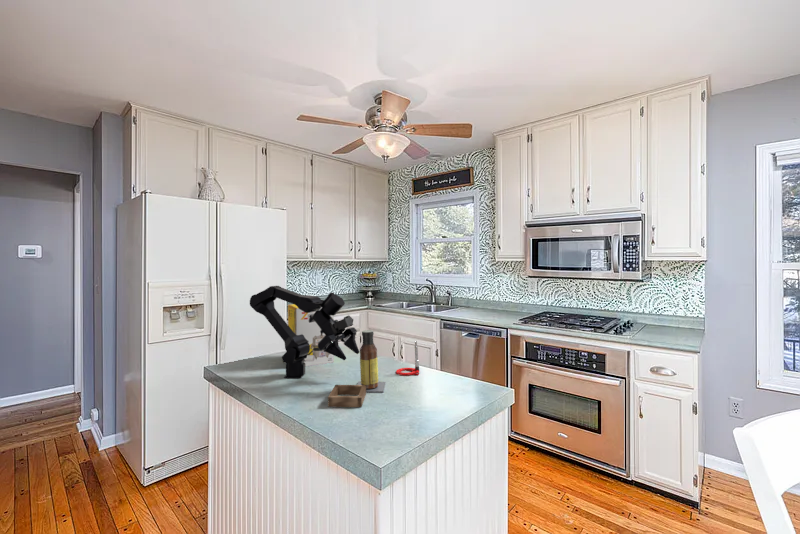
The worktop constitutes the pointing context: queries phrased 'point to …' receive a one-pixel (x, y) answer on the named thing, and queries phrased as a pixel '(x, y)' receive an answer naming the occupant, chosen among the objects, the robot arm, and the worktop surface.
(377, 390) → the slate tile
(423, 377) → the worktop surface
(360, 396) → the holder frame
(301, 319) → the packaging box
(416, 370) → the tow hook
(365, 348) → the sauce bottle
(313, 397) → the worktop surface
